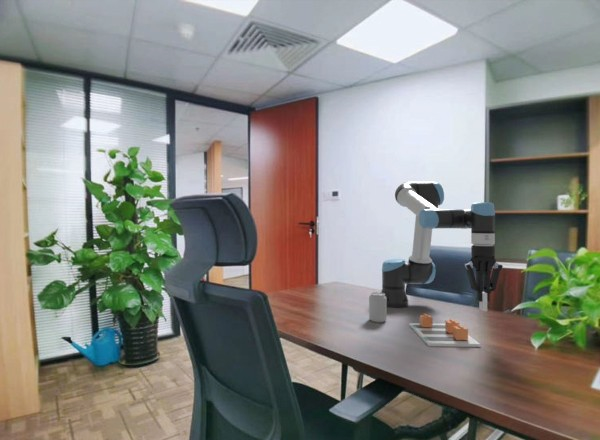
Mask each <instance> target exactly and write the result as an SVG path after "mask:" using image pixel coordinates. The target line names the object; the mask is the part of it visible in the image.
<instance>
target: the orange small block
mask: <svg viewBox="0 0 600 440" xmlns="http://www.w3.org/2000/svg"><path fill="white" fill-rule="evenodd" d="M419 323H420V325H421V326H422V327H432V323H433V316H431V314H427V313H423V314H420V315H419Z"/></svg>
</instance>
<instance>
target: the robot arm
mask: <svg viewBox="0 0 600 440" xmlns="http://www.w3.org/2000/svg"><path fill="white" fill-rule="evenodd" d="M442 186H443V185H441V184H440V182H437V181H406V182H403V183H402V184H400V185H399V186H398V187H396V190H395V191H394V199H395V201H396V202H397V204H398V205H400V206H402V207H405V208H406V209H408V210H409V211H410V212H412V213H413V214H414V215H415V222H414V232H413V241H412V243H413V244H412V250H411V251H412V252H411V255H410V256H408V261H406V260H405V259H404V258H392V259H387V260H385V261H383V262H382V268H381V274H382V275H381V283H382V284H381V291H380V293H384V294H385V296H386V298H387V307H391V308H406V307H408V306H409V298H408V295H407V292H406V285H409V284H410V285H425V284H430V283H432V282H433V281H434V279H435V278H436V271H437V269H436V264H435V263H434V262H433V259H432V258H431V257H430V256H431V255H430V253H431V245H432V243H431V242H432V237H433V235H432V234H433V229H461V230H462V229H463V230H464V229H471V232H470V239H471V241H470V242H471V244H472V245H471V248H470V249H471V250H470V251H471V253H470V254H471V255H470V256H471V258H470V260H469V262H468V263H463V267H464V269H466V273H467V276H468V280H469V281H468V282H469V285H470V288H471V290H472V291H475V292H476V300H477V302H479V303H478V304H479V306H478V307H479V308H478V309H479V310H480V311H482V312H488V302H490V300H491V299H490V294H491V293H492V292H495V291H496V289H497V285H498V281H499V276H500V272H501V270H502V269H503V265H502V264H499V263H498V262H497V260H496V258H495V257H496V246H495V243H496V232H495V231H496V230H495V228H496V227H495V226H496V212H495V211H496V210H495V204H494V203H493V202H487V201H486V202H473V203H472V204H471V206H470V208H467V209H466V208H463V209H462V208H461V209H460V208H459V209H458V208H455V209H451V208H439V206H441V205H443V203H444V200H445V192H444V188H443V187H442ZM473 268H474V269H475V272H474V269H473ZM475 275H476V276H475Z"/></svg>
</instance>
